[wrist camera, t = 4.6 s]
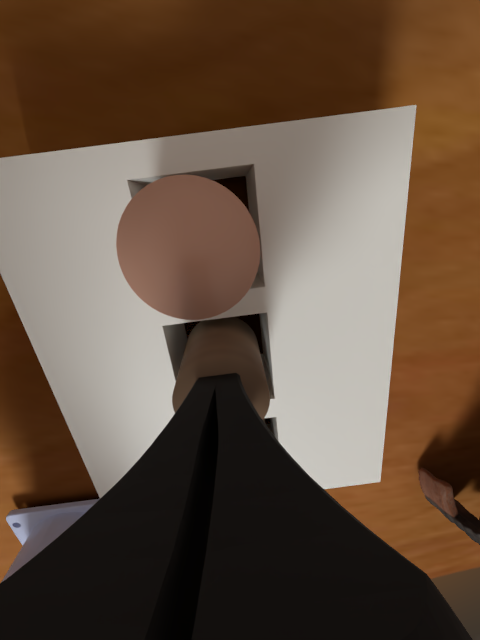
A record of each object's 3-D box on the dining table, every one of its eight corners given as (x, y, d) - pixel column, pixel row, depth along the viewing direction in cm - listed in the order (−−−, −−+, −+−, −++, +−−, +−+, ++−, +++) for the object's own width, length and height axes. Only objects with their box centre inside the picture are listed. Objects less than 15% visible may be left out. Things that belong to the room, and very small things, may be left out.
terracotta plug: (252, 275, 11) (265, 311, 7) (166, 286, 11) (136, 327, 7) (242, 180, 9) (253, 165, 6) (145, 192, 9) (97, 184, 6)
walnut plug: (260, 373, 13) (273, 433, 10) (193, 382, 13) (182, 445, 10) (254, 310, 12) (266, 352, 9) (180, 320, 12) (162, 366, 9)
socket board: (348, 425, 18) (380, 481, 15) (131, 453, 18) (108, 517, 15) (358, 135, 12) (416, 105, 9) (34, 176, 12) (-48, 164, 9)
